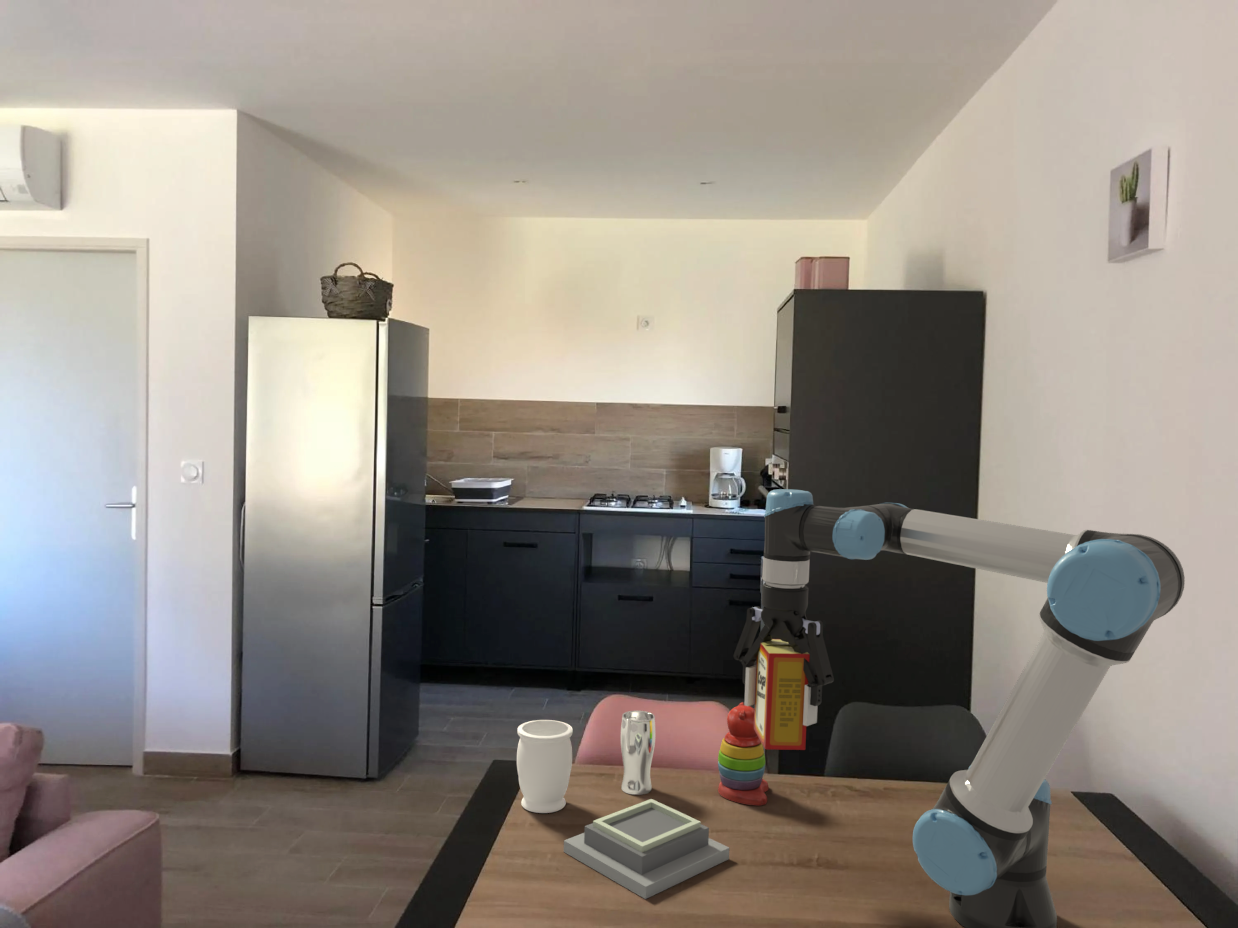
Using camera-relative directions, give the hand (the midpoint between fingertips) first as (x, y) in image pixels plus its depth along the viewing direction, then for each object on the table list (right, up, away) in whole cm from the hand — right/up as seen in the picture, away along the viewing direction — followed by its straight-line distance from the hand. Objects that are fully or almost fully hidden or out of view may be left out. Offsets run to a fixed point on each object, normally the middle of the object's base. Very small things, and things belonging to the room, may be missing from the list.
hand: (779, 713), depth 153 cm
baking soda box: (0, -4, 0) cm, 4 cm away
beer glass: (-23, -24, +32) cm, 47 cm away
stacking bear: (-2, -25, +32) cm, 40 cm away
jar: (-41, -24, +24) cm, 53 cm away
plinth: (-22, -26, +5) cm, 34 cm away
